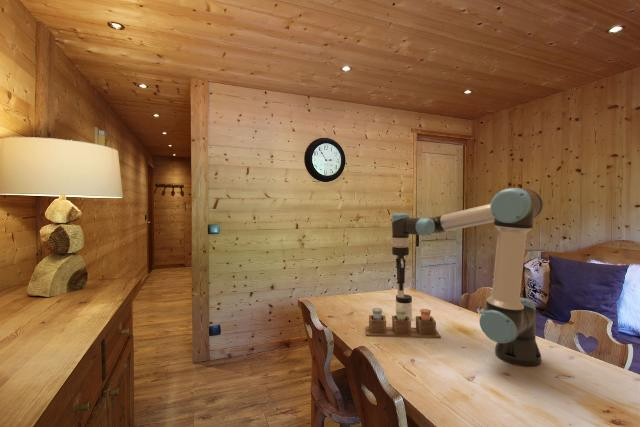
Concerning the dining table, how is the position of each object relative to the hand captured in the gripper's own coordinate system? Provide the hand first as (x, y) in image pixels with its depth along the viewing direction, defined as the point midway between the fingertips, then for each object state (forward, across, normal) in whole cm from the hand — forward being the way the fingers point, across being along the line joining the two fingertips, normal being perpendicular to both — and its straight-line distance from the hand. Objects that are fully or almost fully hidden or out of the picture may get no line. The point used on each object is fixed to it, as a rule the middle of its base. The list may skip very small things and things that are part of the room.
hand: (400, 296), depth 148 cm
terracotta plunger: (+13, 0, -11) cm, 17 cm away
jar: (+17, +19, -4) cm, 26 cm away
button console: (+17, 0, 0) cm, 17 cm away
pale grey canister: (+13, 0, +11) cm, 17 cm away
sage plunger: (+13, 0, 0) cm, 13 cm away
